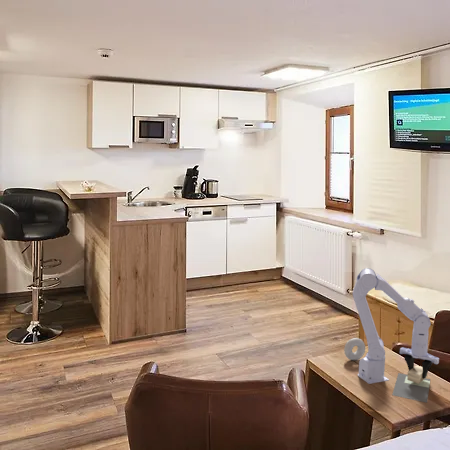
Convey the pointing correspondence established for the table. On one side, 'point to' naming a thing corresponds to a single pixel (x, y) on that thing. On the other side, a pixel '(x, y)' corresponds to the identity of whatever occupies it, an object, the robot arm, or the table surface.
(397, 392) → the mat
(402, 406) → the table surface
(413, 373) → the beige wooden block
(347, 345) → the donut
